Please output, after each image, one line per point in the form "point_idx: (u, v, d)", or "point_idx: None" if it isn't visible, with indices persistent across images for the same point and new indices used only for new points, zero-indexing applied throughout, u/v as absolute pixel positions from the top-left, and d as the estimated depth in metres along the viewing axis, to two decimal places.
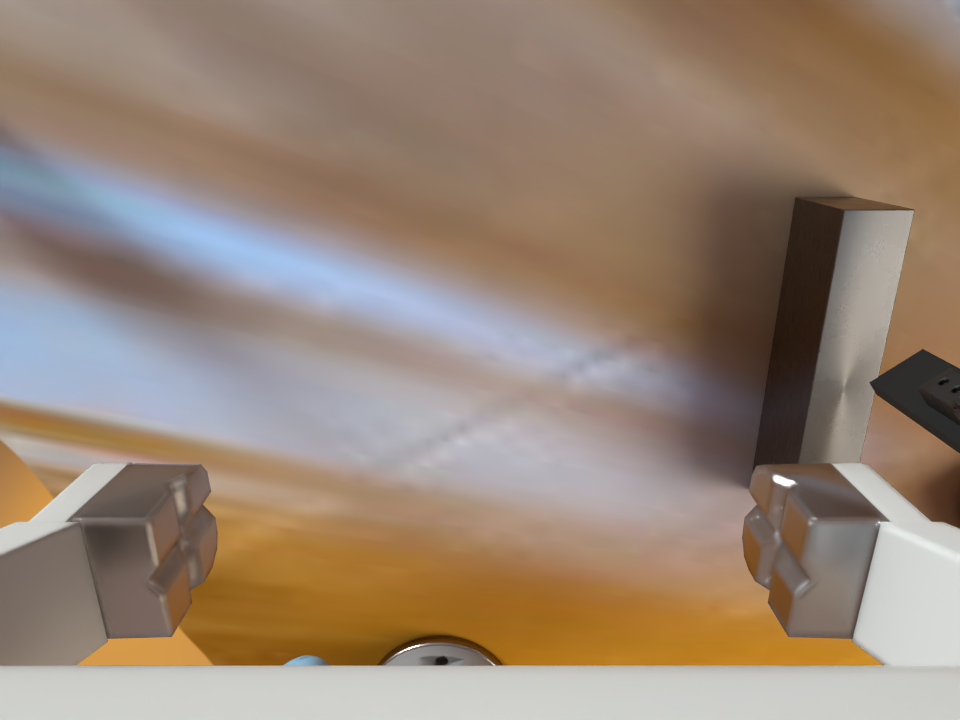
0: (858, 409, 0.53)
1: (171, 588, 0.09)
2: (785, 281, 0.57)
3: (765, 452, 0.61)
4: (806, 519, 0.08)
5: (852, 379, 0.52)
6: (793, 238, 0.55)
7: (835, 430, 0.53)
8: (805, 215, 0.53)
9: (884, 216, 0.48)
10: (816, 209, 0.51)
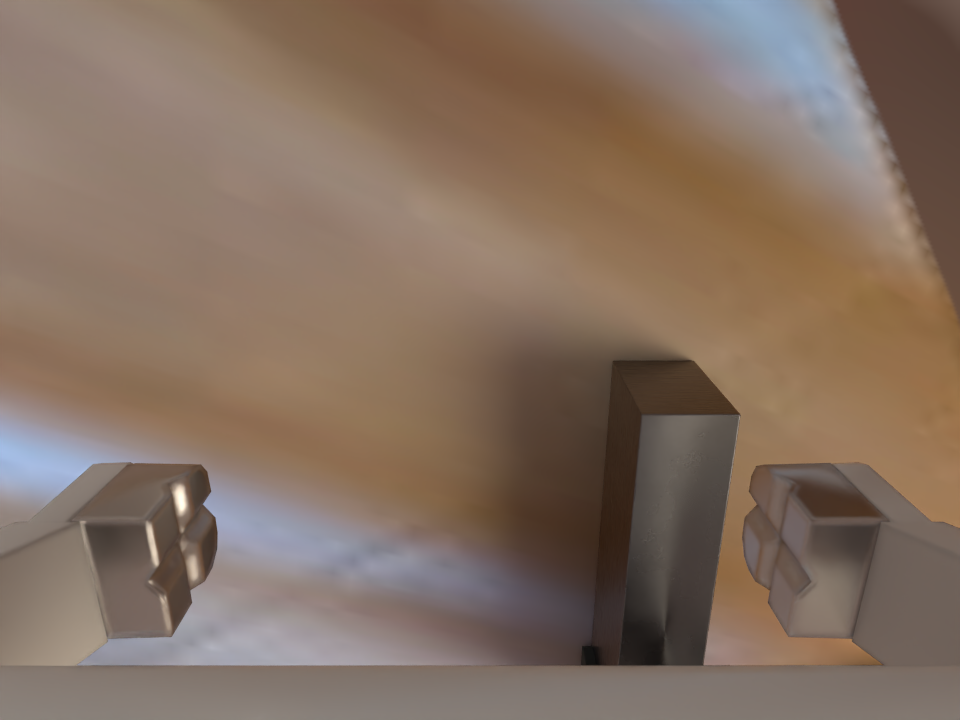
0: (687, 656, 0.39)
1: (171, 588, 0.09)
2: (606, 464, 0.43)
3: None
4: (806, 519, 0.08)
5: (674, 621, 0.38)
6: (611, 414, 0.41)
7: None
8: (618, 392, 0.39)
9: (699, 423, 0.34)
10: (624, 392, 0.38)
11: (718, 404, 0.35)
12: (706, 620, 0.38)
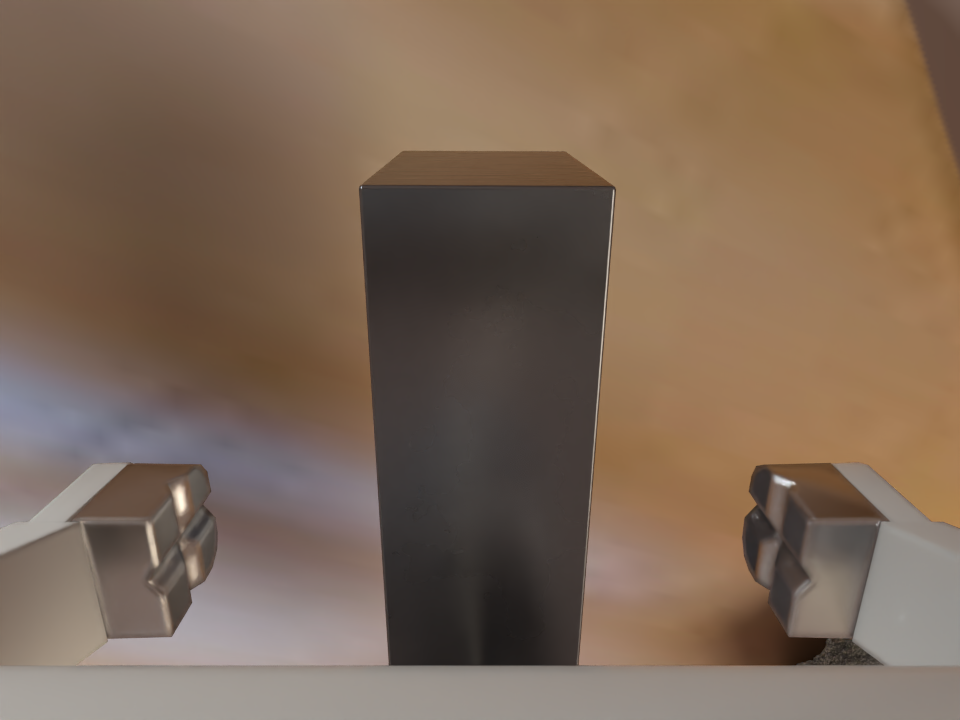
0: None
1: (171, 588, 0.09)
2: None
3: None
4: (807, 519, 0.08)
5: None
6: None
7: None
8: None
9: (511, 212, 0.13)
10: None
11: (571, 178, 0.14)
12: None
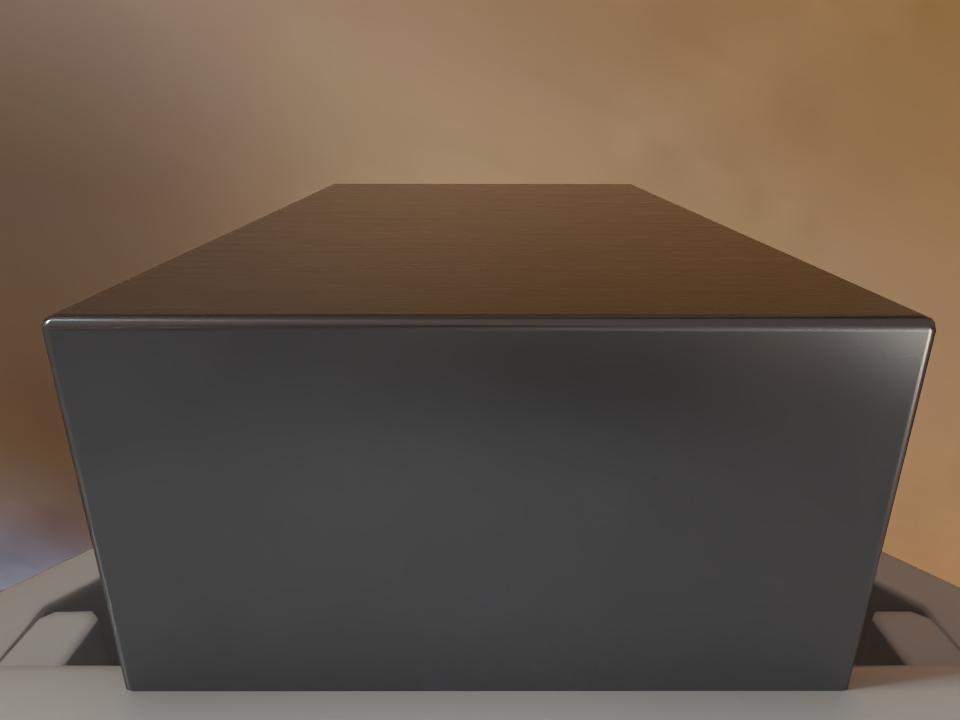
0: None
1: None
2: None
3: None
4: None
5: None
6: None
7: None
8: None
9: (570, 403, 0.04)
10: None
11: (732, 269, 0.05)
12: None
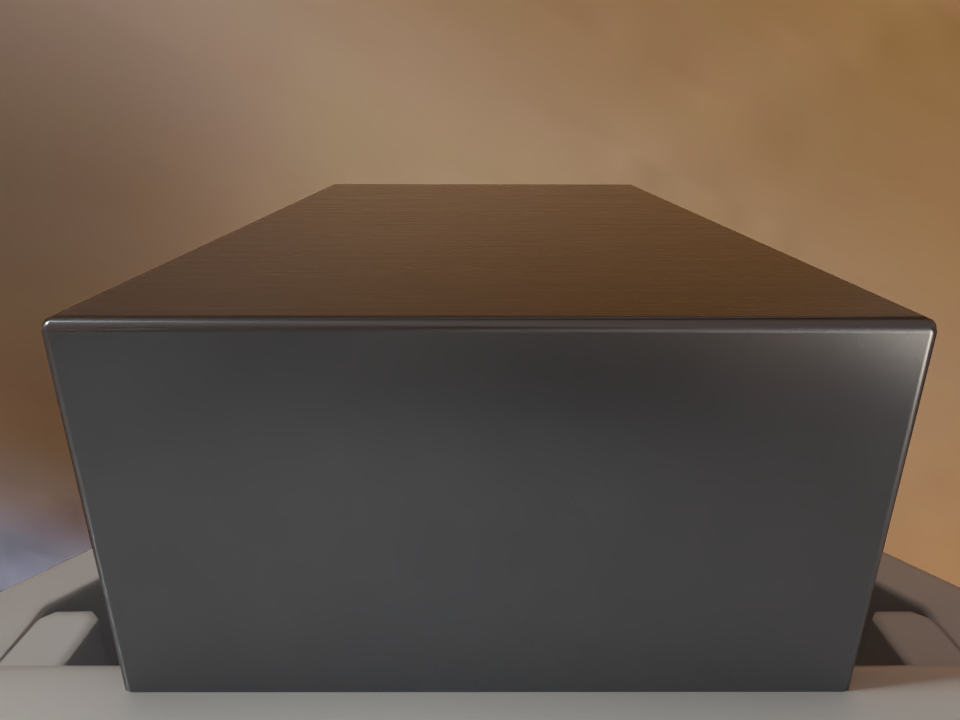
0: None
1: None
2: None
3: None
4: None
5: None
6: None
7: None
8: None
9: (572, 403, 0.04)
10: None
11: (733, 270, 0.05)
12: None
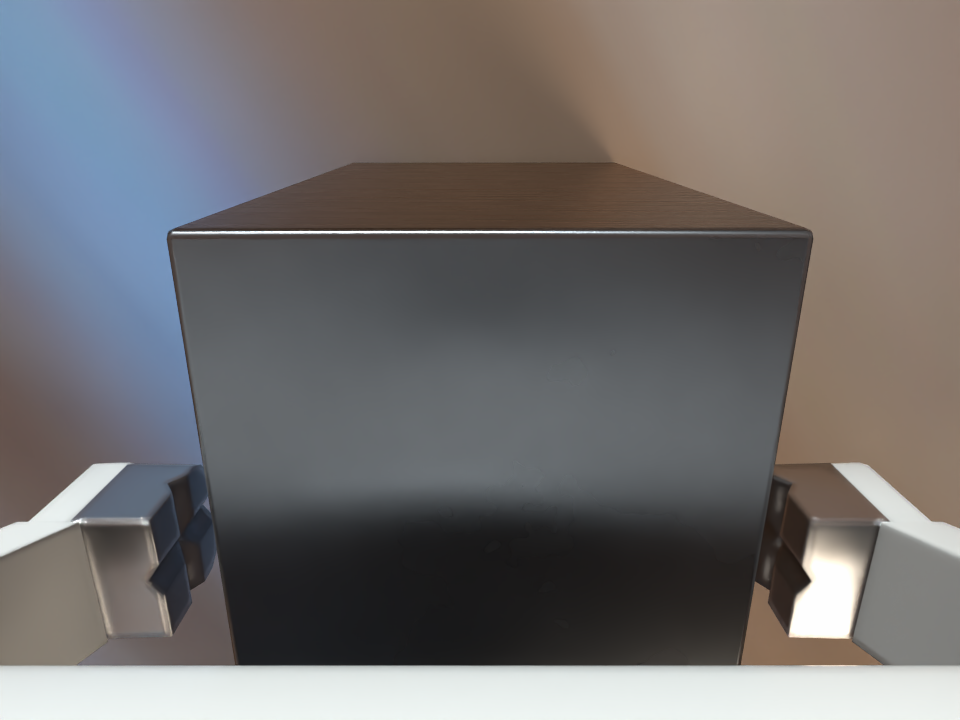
0: None
1: (171, 588, 0.09)
2: None
3: None
4: (806, 519, 0.08)
5: None
6: None
7: None
8: None
9: (549, 292, 0.05)
10: None
11: (678, 208, 0.06)
12: None
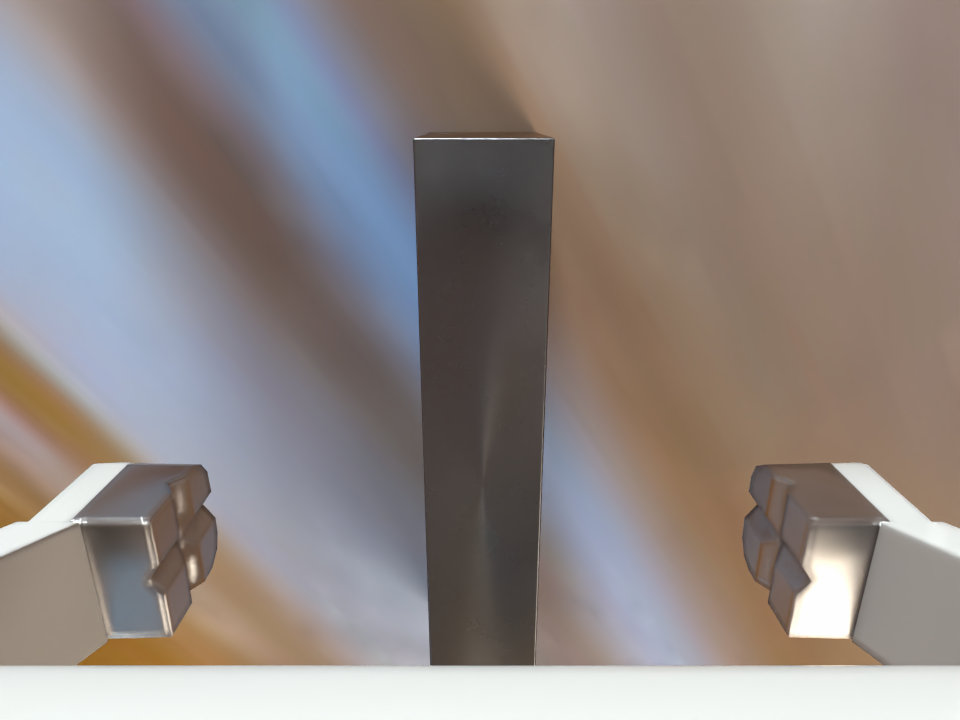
0: (517, 515, 0.29)
1: (171, 588, 0.09)
2: None
3: None
4: (806, 519, 0.08)
5: (494, 463, 0.28)
6: None
7: (481, 550, 0.30)
8: None
9: (497, 152, 0.24)
10: None
11: None
12: (537, 461, 0.28)
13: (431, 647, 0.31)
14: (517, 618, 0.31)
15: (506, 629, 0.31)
